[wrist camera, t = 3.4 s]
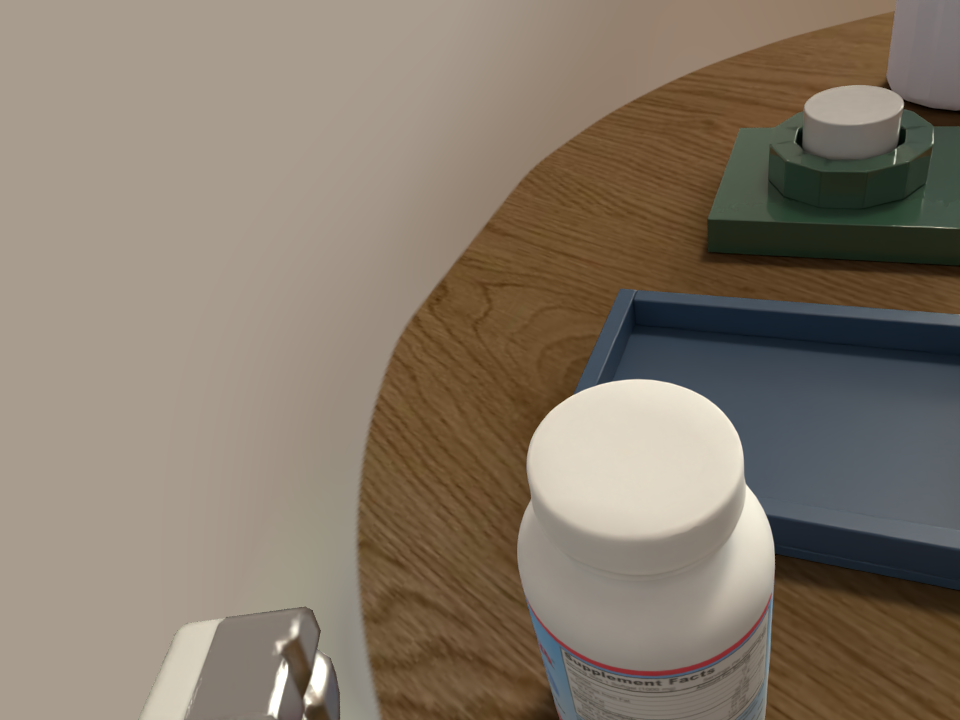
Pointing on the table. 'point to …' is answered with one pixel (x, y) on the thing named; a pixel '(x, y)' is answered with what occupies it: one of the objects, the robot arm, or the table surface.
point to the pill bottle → (646, 558)
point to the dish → (818, 417)
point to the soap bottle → (926, 53)
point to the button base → (841, 198)
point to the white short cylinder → (852, 122)
